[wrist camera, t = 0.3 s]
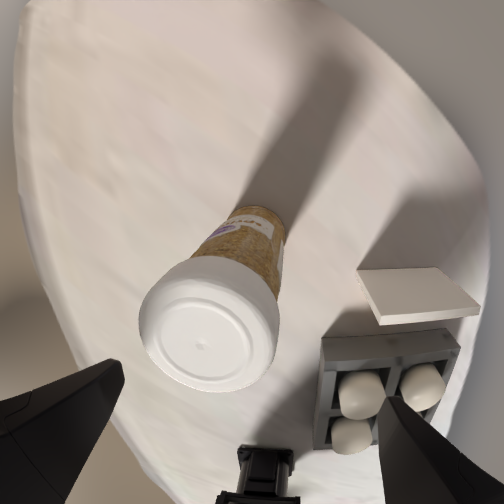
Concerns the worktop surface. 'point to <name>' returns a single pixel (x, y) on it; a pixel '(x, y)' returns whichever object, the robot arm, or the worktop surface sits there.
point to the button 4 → (422, 386)
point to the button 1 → (350, 435)
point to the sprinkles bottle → (219, 306)
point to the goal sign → (414, 295)
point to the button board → (383, 362)
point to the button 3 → (361, 394)
